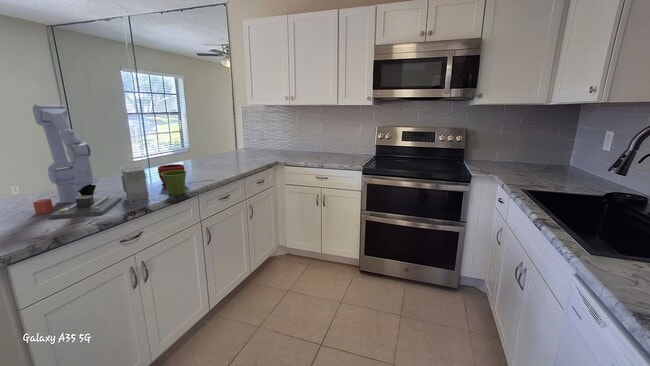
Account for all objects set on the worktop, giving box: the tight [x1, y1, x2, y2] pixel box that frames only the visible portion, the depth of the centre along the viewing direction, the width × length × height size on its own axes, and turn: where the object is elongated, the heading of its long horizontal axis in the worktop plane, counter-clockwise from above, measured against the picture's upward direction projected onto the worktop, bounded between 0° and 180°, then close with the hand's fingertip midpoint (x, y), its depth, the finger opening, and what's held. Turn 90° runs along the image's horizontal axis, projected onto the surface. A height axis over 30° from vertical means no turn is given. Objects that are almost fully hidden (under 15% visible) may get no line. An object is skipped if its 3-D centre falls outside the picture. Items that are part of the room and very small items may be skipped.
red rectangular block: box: [32, 198, 54, 215], centre depth 121 cm, size 4×4×5 cm
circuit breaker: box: [120, 167, 150, 205], centre depth 138 cm, size 8×14×15 cm, turn 44°
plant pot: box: [161, 170, 188, 197], centre depth 146 cm, size 12×12×11 cm
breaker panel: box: [48, 196, 123, 220], centre depth 125 cm, size 20×18×3 cm
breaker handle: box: [75, 194, 94, 208], centre depth 123 cm, size 3×5×4 cm, turn 105°
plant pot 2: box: [157, 163, 186, 189], centre depth 161 cm, size 13×13×12 cm
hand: (89, 202), depth 126 cm, fingers closed
